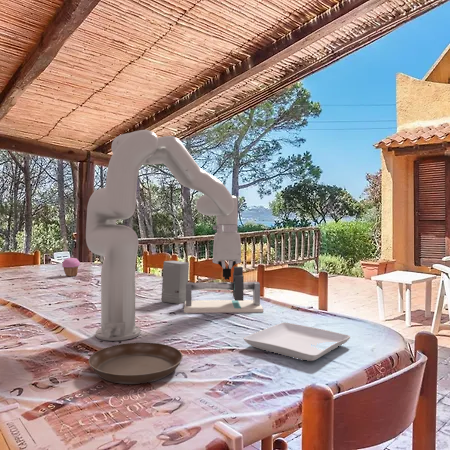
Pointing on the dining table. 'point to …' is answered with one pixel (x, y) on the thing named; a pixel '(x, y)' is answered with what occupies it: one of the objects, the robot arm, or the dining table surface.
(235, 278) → the collar
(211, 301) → the board
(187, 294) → the rail
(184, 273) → the skincare box
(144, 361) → the plant saucer
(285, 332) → the salad plate
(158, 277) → the dining table surface
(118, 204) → the robot arm
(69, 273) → the cupcake
